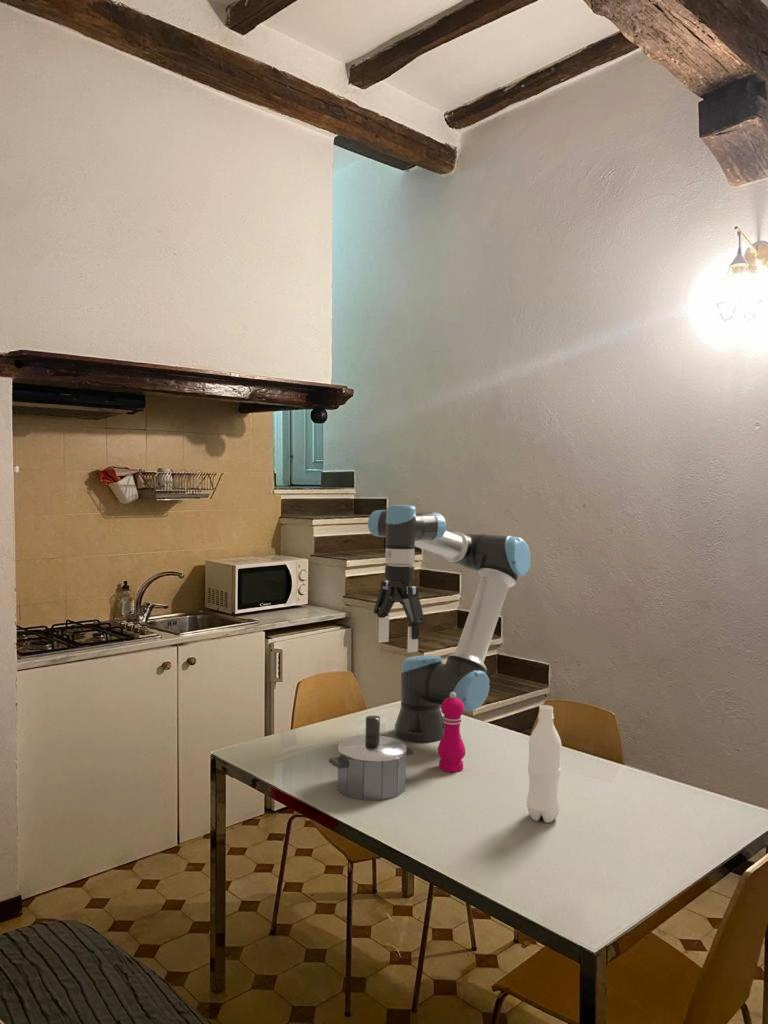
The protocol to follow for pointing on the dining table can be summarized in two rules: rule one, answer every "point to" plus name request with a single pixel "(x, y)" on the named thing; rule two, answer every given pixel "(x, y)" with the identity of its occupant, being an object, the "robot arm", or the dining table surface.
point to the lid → (372, 745)
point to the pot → (371, 777)
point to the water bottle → (544, 767)
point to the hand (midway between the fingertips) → (397, 646)
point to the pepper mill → (451, 735)
